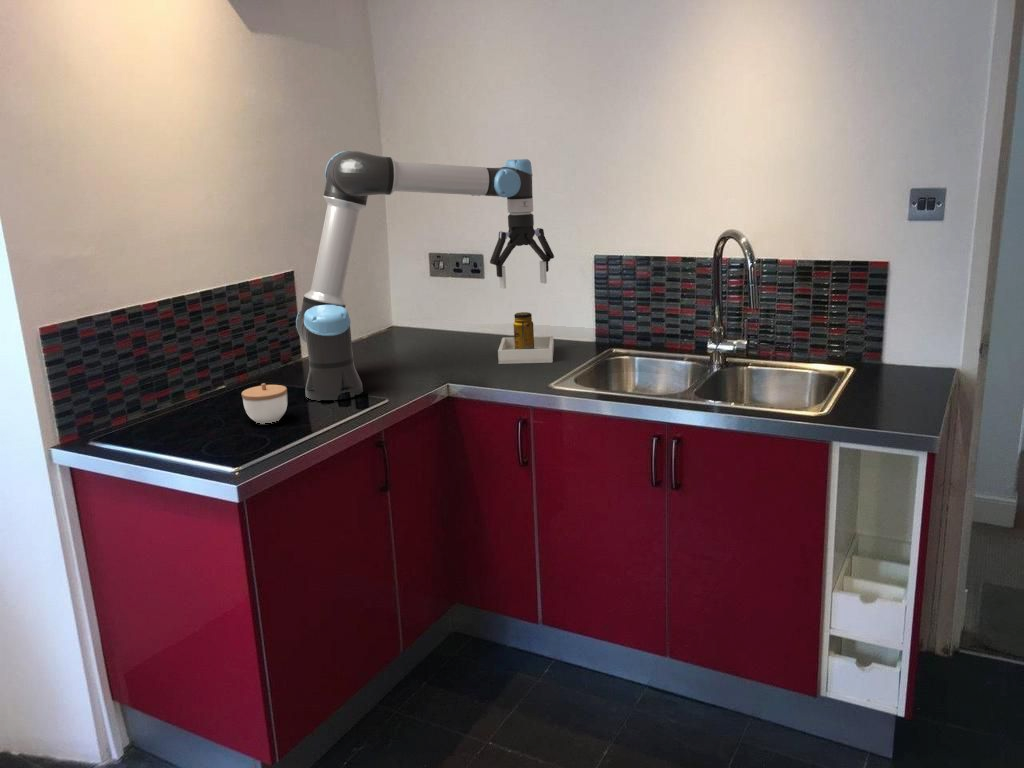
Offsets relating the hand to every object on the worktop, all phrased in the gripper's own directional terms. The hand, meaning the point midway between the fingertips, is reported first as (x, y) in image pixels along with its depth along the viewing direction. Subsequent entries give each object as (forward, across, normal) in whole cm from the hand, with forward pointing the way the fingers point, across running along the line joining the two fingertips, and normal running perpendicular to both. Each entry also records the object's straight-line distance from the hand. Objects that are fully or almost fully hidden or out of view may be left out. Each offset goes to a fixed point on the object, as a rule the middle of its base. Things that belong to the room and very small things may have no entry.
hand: (523, 285), depth 267 cm
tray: (+22, 0, 0) cm, 22 cm away
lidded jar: (+22, -83, -22) cm, 88 cm away
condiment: (+21, +1, +1) cm, 21 cm away
